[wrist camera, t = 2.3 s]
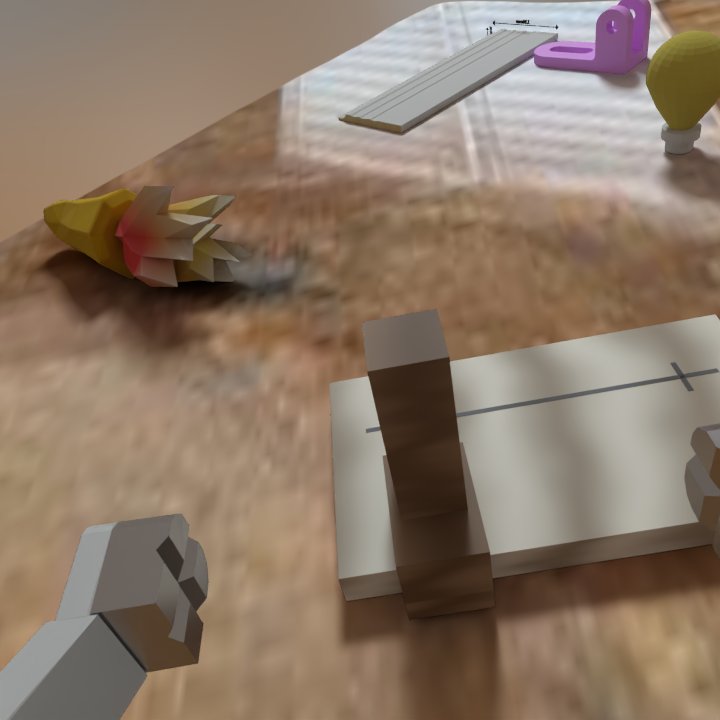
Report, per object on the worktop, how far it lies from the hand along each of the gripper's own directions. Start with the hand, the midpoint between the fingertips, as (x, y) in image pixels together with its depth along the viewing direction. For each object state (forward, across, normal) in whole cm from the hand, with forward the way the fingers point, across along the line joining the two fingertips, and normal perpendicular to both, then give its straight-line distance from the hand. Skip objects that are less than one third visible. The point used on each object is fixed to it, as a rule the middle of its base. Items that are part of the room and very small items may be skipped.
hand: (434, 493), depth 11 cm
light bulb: (+51, -28, +21) cm, 62 cm away
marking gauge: (+15, 0, +21) cm, 26 cm away
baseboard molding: (+82, -12, +22) cm, 86 cm away
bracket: (+78, -28, +22) cm, 86 cm away
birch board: (+18, -7, +21) cm, 29 cm away
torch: (+49, +22, +22) cm, 58 cm away
